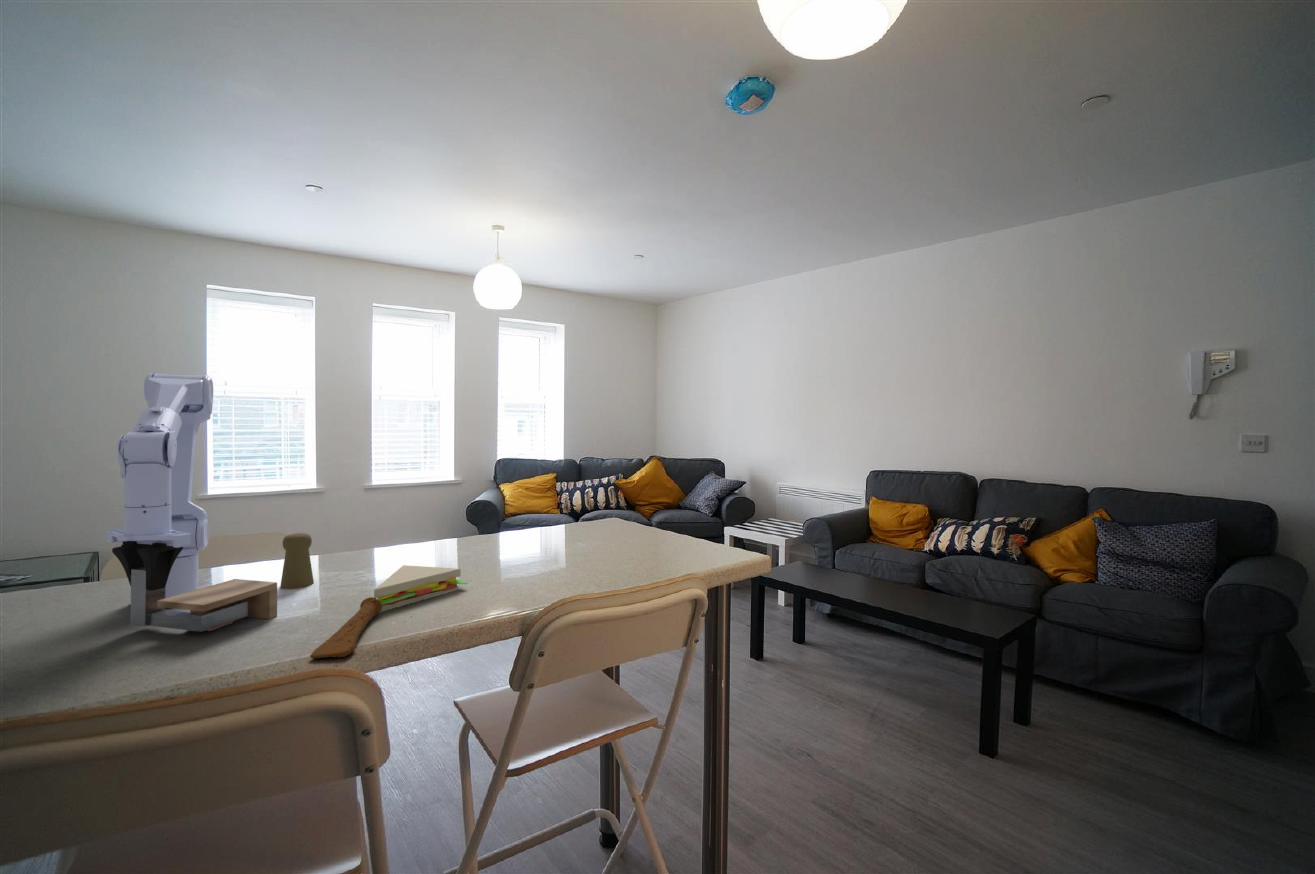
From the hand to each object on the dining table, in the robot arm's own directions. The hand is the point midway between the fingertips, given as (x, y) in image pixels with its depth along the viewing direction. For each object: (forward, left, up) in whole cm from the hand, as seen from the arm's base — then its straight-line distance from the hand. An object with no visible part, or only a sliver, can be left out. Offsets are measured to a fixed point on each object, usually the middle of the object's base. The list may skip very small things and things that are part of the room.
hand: (148, 588), depth 92 cm
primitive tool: (+30, +2, -5) cm, 30 cm away
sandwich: (+29, +25, -8) cm, 39 cm away
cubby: (+10, +4, -7) cm, 13 cm away
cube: (+8, +4, -7) cm, 11 cm away
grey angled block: (0, 0, -6) cm, 6 cm away
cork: (+2, +27, -7) cm, 28 cm away
